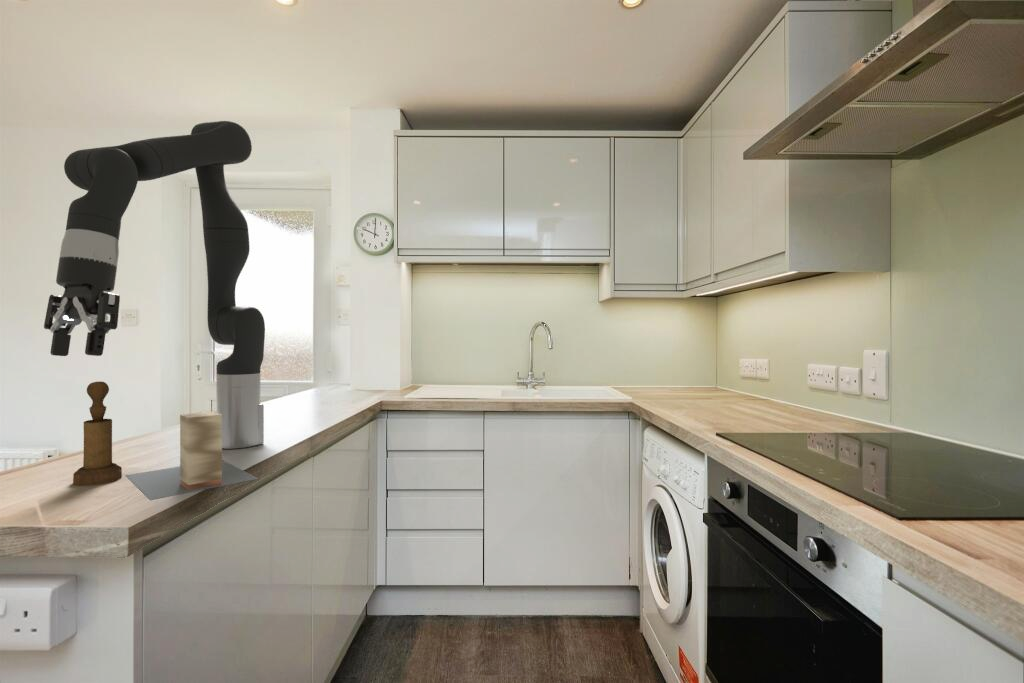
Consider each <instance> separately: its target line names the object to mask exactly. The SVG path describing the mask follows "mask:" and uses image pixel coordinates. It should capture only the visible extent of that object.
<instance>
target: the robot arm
mask: <svg viewBox="0 0 1024 683" xmlns="http://www.w3.org/2000/svg"><path fill="white" fill-rule="evenodd" d="M252 149H253V147H252V140H251V137H250V135H249V133H248V132H247V130H246V129H245V128H244V127H243V126H242V125H240V124H239V123H237V122H235V121H231V120H219V121H210V122H207V121H206V122H201V123H197V124H195V125H194V126H193V128H192V129H191V132H190V134H183V135H170V136H162V137H153V138H146V139H141V140H136V141H135V140H134V141H130V142H127V143H123V144H120V145H113V146H111V145H110V146H104V147H103V146H102V147H93V148H87V149H79V150H76V151H73V152H71V153H70V154H69V155H68V156H67V157H66V159H65V161H64V164H63V168H64V173H65V175H66V178H67V179H68V180H69V182H71V183H72V184H73V185H74V186H76V187H77V188H79V189H80V190H85V191H86V194H84V195H82V196H80V197H79V198H75V199H74V200H72V202H71V203H70V205H69V207H68V212H67V213H68V214H67V220H66V226H65V232H64V236H63V239H62V242H61V246H60V252H59V258H58V266H57V272H56V279H55V282H56V284H57V285H59V286H60V287H63V288H64V292H63V294H62V295H58V294H57V295H56V294H51V295H49V297H48V302H47V306H46V307H47V308H46V312H45V317H44V324H43V328H44V329H45V330H49V331H50V333H52V338H51V346H50V354H51V356H55V357H56V356H57V357H59V356H60V357H67V356H68V355H69V351H70V344H71V338H72V335H71V333H72V332H73V331H74V329H75V327H76V326H78V325H80V324H81V323H82V322H84V323H85V325H86V327H87V329H88V332H87V336H86V340H85V349H84V354H85V355H87V356H96V357H100V356H102V355H103V353H104V348H105V341H106V334H108V333H109V332H110V331H111V330H116V329H117V328H118V322H119V312H120V299H121V297H120V295H119V294H117V293H112V292H113V291H114V290H115V285H116V278H117V269H118V263H119V256H120V255H119V254H120V249H119V248H120V246H119V242H120V241H119V240H120V233H121V226H122V218H123V216H124V214H125V213H126V210H127V209H128V207H129V204H130V203H131V200H132V198H133V196H134V193H135V191H136V189H137V187H138V186H137V184H138V183H139V182H146V181H153V180H157V179H161V178H165V177H168V176H171V175H175V174H178V173H183V172H185V171H188V170H192V169H194V170H195V175H196V179H197V185H198V190H199V198H200V206H201V215H202V229H203V231H202V232H203V242H204V250H205V257H206V272H207V274H206V275H207V328H208V332H209V335H210V337H211V339H212V340H213V341H214V342H215V343H217V344H219V345H221V346H233V350H232V353H231V354H230V355H229V356H227V357H226V358H224V359H222V360H219V361H218V362H217V363H216V413H219V414H222V449H228V450H230V449H231V450H232V449H243V448H250V447H254V446H258V445H261V444H262V445H263V444H264V443H265V441H264V440H265V438H264V436H265V435H264V432H265V431H264V430H265V429H264V426H265V425H264V424H265V423H264V422H265V421H264V420H265V417H264V415H265V413H264V406H265V405H264V404H263V403H261V369H262V368H261V367H262V364H263V362H264V354H265V353H264V352H265V340H266V338H265V336H266V335H265V334H266V332H265V331H266V326H265V325H266V324H265V319H264V316H263V313H262V312H261V311H260V310H259V309H258V308H257V307H254V306H237V305H236V286H237V283H238V279H239V277H240V275H241V273H242V271H243V269H244V267H245V265H246V263H247V260H248V257H249V255H250V234H249V226H248V221H247V219H246V217H245V216H244V214H243V212H242V211H241V208H239V206H238V205H237V203H236V202H235V200H234V199H233V197H232V196H231V194H230V192H229V190H228V187H227V183H226V179H225V170H224V168H225V166H227V165H237V164H240V163H244V162H245V161H247V160H248V159H249V157H250V156H251V154H252V151H253V150H252ZM108 315H109V316H108ZM54 319H55V320H54ZM53 321H54V322H53Z"/></svg>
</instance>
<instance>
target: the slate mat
mask: <svg viewBox="0 0 1024 683" xmlns="http://www.w3.org/2000/svg"><path fill="white" fill-rule="evenodd" d="M125 477H126V478H128V480H129V481H130V482H131V483H132V484H133V485H134V486H135V487H136V488H137V489H138V490H139V491H140V492H141V493H142V494H143V495H144V496H145V497H146V498H147V499H148V500H150V501H153V500H158V499H163V498H168V497H169V498H170V497H174V496H178V495H183V494H188V493H194V492H199V491H203V490H209V489H214V488H219V487H224V486H230V485H234V484H240V483H245V482H251V481H255V480H259V478H258V477H256V476H254V475H253V474H250V473H249V472H247V471H245V470H243V469H241V468H239V467H237V466H235V465H233V464H232V463H230V462H227V461H225V460H223V459H222V484H217V485H212V486H206V487H201V488H196V489H191V490H188V489H186V488H185V487H184V486H183V485H181V484H180V466H175V467H169V468H164V469H163V468H161V469H155V470H149V471H144V472H137V473H131V474H125Z"/></svg>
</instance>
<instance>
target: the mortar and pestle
mask: <svg viewBox="0 0 1024 683" xmlns="http://www.w3.org/2000/svg"><path fill="white" fill-rule="evenodd" d="M109 391H110V387H109V385H108V384H107V382H105V381H92V382H91V383H89V384H88V386H87V387H86V393H87V395H88V396H89V398H90V399H91V400H92V404H91V406H90V407H89V408H88V409H89V412H90V416H91V419H88V420H85V421H83V459H82V460H83V463H82V464H83V465H82V467H79V468H78V469H77V470H76V471H74V472H73V474H72V478H73V479H72V485H73V486H77V487H89V486H90V487H91V486H97V485H103V484H109V483H112V482H115V481H118V480H121V479H122V476H123V473H122V472H123V471H122V470H123V469H122V466H121V465H118V464H117V463H114V462H113V419H112V418H104V416H105V414H106V411H107V406H106V405H105V404H104V400H105V398H106V397H107V395H108V394H109Z"/></svg>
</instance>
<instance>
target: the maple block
mask: <svg viewBox="0 0 1024 683" xmlns="http://www.w3.org/2000/svg"><path fill="white" fill-rule="evenodd" d="M179 428H180V430H179V433H180V434H179V435H180V436H179V439H180V440H179V443H180V444H179V446H180V447H179V461H180V462H179V465H180V466H179V467H180V484H181V485H183V486H184V487H185V488H186V489H188V490H191V489H196V488H201V487H206V486H212V485H217V484H222V460H223V448H222V414H219V413H217V411H216V412H215V411H205V412H194V413H184V414H183V413H182V414H180V416H179Z"/></svg>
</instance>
